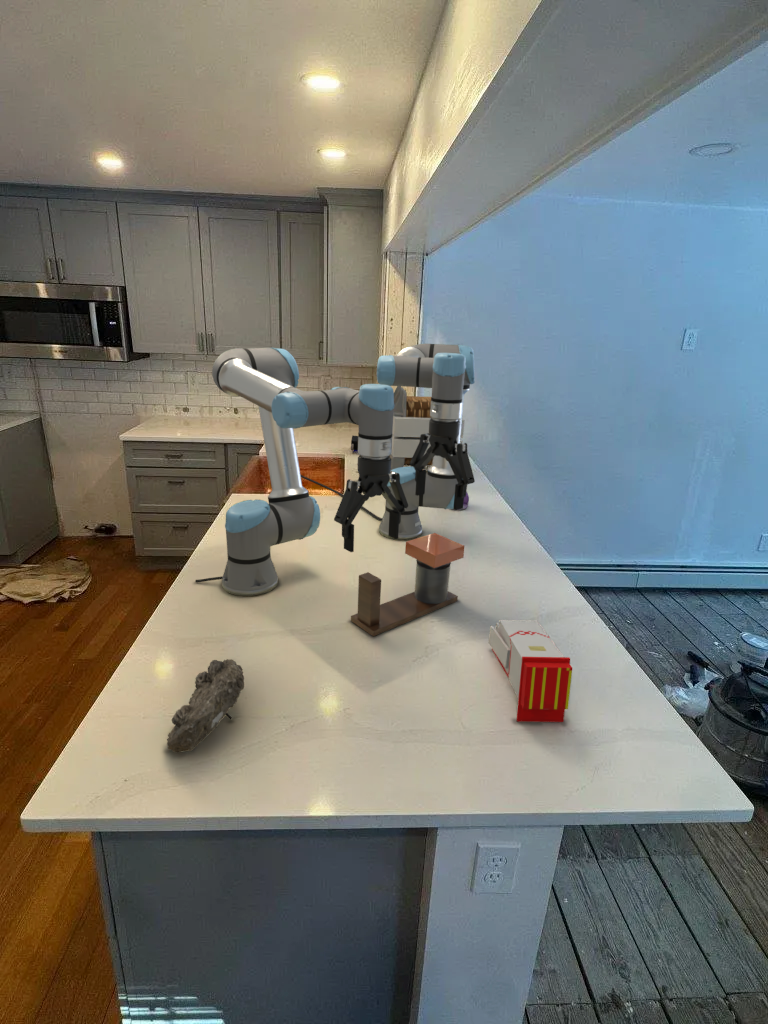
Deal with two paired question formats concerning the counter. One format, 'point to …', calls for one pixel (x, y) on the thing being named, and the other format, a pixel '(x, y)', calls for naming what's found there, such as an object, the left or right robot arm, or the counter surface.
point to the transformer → (409, 426)
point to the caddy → (402, 599)
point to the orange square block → (434, 550)
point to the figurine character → (354, 443)
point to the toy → (533, 669)
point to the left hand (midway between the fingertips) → (371, 543)
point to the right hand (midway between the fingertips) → (438, 501)
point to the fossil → (206, 705)
